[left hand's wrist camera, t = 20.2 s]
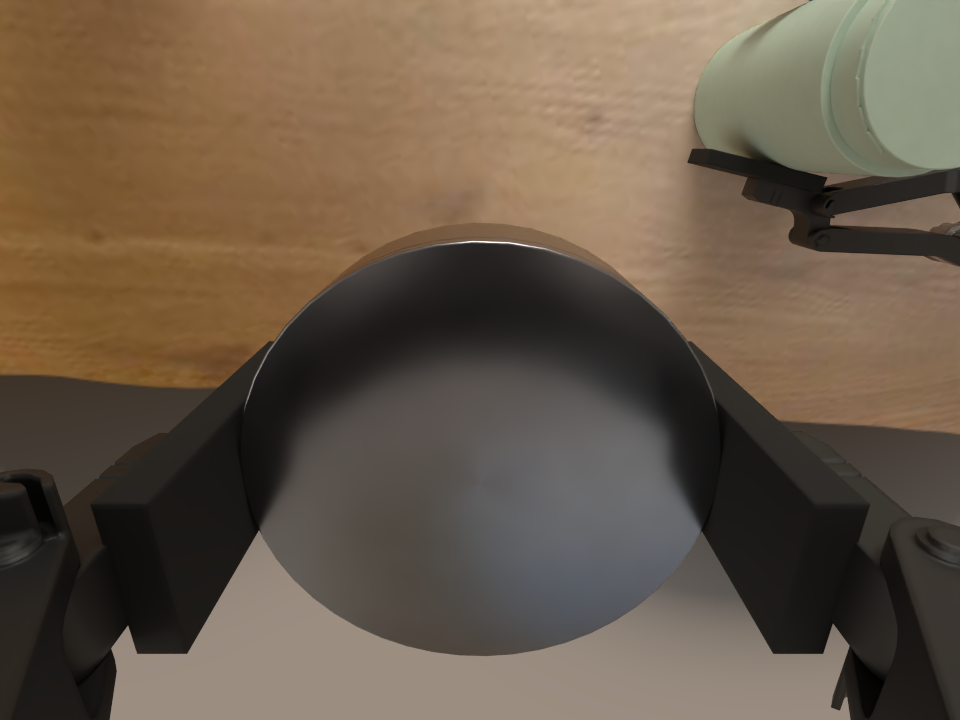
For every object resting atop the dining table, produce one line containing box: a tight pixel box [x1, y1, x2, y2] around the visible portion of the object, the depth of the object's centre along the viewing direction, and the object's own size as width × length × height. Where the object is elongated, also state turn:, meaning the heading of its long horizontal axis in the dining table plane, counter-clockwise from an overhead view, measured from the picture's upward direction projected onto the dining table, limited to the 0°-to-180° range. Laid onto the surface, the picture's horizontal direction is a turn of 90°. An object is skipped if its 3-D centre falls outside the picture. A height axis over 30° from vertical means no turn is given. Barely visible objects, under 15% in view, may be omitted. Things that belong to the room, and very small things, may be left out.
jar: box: [694, 0, 960, 177], centre depth 27 cm, size 8×8×16 cm
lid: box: [240, 223, 722, 656], centre depth 11 cm, size 9×9×2 cm
